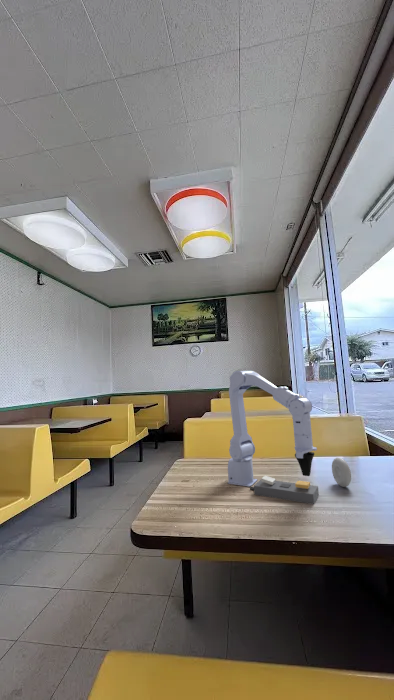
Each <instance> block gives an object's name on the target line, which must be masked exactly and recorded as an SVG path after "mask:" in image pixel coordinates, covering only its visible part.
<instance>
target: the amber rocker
mask: <svg viewBox="0 0 394 700" xmlns="http://www.w3.org/2000/svg"><path fill="white" fill-rule="evenodd" d="M295 483H296V484H295V486H296V487H299V488H307V489H308V488H309V486H310V485H311V481H305V480H297V481H296V482H295Z"/></svg>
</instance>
